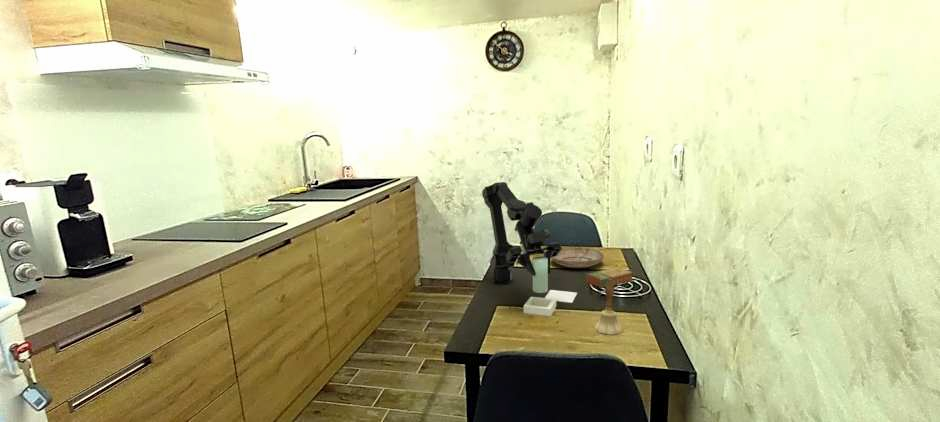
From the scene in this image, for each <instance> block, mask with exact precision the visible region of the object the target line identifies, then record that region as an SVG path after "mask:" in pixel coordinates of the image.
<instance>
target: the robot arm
mask: <svg viewBox="0 0 940 422" xmlns="http://www.w3.org/2000/svg"><path fill="white" fill-rule="evenodd" d="M481 196H482V198H483V202H484V204H485V205H486V206H487V207H488V209H489V213H490V217H491V218H490V219H491V224H492V229H493V237H494V243H495V244H494V247H493V249H492V256H491V257H490V260H489V264H490V267H491V268H493V280H492V283H493V284H503V285H508V284H509V283H510V282H512V280H513V270H512V269H511V268H512V267H515V263H516V264H518V265H519V264H520V265H521V266H522V267H523V268H525V269H526V270H527V271H528V272H529V273H530V274H531V275H532V277H533V276H535V275H536V274H535V270H534V268H533V265H532V260H531V257H530V256H536V255H541V257H546V258H548V275H550V273H551V257H556V256H557V255H558V254H559V252H560V251H561V249H562V248H563V247H562V245H561V243H560V242H558V241H557V242H550V243H547V246H546V247H543V246H544V242H548V241H547V240H550V239H551V232H550V231H549V229H543V230H541V231H535V228H534V227H536V226H537V224H538V222H539V220H540V219H541V217H542V215H543V211H542V209H541V208H540V207H539V206H538V205H536V204H534V203H533V201H532V202H531V201H530V202H527V203H526V202H525V201H524V200H520V199H518V198H517V197H516V195H515V194H514V193H513V192H512V190H511V189H510V187H509V186H508V183H507V182H505V181H502V182H494V183H493V184H491V185H488V186H485V187H484V188H483V189H482V191H481ZM503 204H504V205H505V207H506V209H507V210H506V214H507V217H508V219H510V221H512V222H514V221H517V222H516V224H515V227H514V231H515V232H517V234H518V237H519V240H520V241H519V245H520V246H521V245H522V247H520V246H515V247H514V245H513V244H510V243H509V241H508V239H507V232H506V225H505V220H504V215H503V214H504V213H503V208H502V206H503ZM522 248H523V249H522Z"/></svg>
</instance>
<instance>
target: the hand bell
mask: <svg viewBox="0 0 940 422" xmlns="http://www.w3.org/2000/svg"><path fill="white" fill-rule="evenodd" d="M604 291H605V296H606V297H605V298H606V303H605V309H603V310H602V311H601V312H600V317H599V319H598V321H597V323H596V324H594V328H595V329H596V332H598V333H600V334H603V335H609V336H610V335H611V336H612V335H620V334H621V333H622V332H623V328H622V326H621V325H620V324H619V321H618V318H617V313H616V311H614V310H612V307H613V297H614V294H615V285H614V284H613V281H612V279H608V281H607V283H606V287H605V288H604Z"/></svg>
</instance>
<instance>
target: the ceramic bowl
mask: <svg viewBox="0 0 940 422" xmlns="http://www.w3.org/2000/svg"><path fill="white" fill-rule="evenodd" d="M604 255H605V254H604V253H603V252H602V251H600V250H597V249H593V248H588V247H564V248H563V247H562V249H561V251H560V252H559V254H558V255H557V256H556V257H551V258H550V260H551V261H553V262H554V263H556V264H558V265H560V266H562V267H566V268H573V269H585V268H590V267H593V266H596V265H597V264H600V263H601V262H602V261H603V260H604V257H605V256H604Z"/></svg>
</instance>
